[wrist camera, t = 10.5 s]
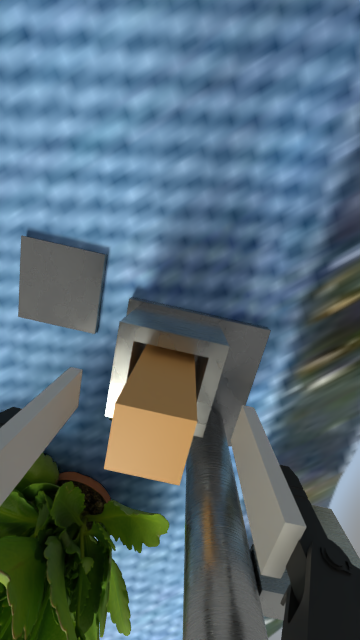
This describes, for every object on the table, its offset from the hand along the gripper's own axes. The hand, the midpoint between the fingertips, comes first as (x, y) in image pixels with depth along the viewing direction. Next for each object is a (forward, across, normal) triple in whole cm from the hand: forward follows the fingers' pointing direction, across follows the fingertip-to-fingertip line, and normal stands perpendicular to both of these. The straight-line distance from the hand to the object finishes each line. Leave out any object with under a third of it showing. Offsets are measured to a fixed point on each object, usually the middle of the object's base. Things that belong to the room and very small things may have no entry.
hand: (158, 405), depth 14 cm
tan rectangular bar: (+9, 0, 0) cm, 9 cm away
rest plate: (+10, -12, +4) cm, 16 cm away
